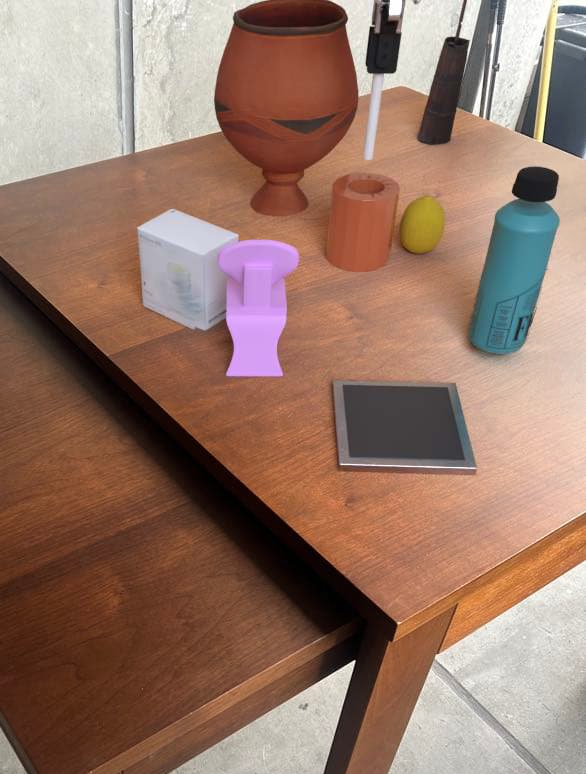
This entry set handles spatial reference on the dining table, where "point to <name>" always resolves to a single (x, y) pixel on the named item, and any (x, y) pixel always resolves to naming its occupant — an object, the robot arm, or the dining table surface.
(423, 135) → the butter churn
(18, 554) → the dining table surface
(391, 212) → the pen cup
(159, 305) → the cosmetics box
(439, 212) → the lemon
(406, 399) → the tablet
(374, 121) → the stylus
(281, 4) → the goblet
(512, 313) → the beverage bottle
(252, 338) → the toy chair
